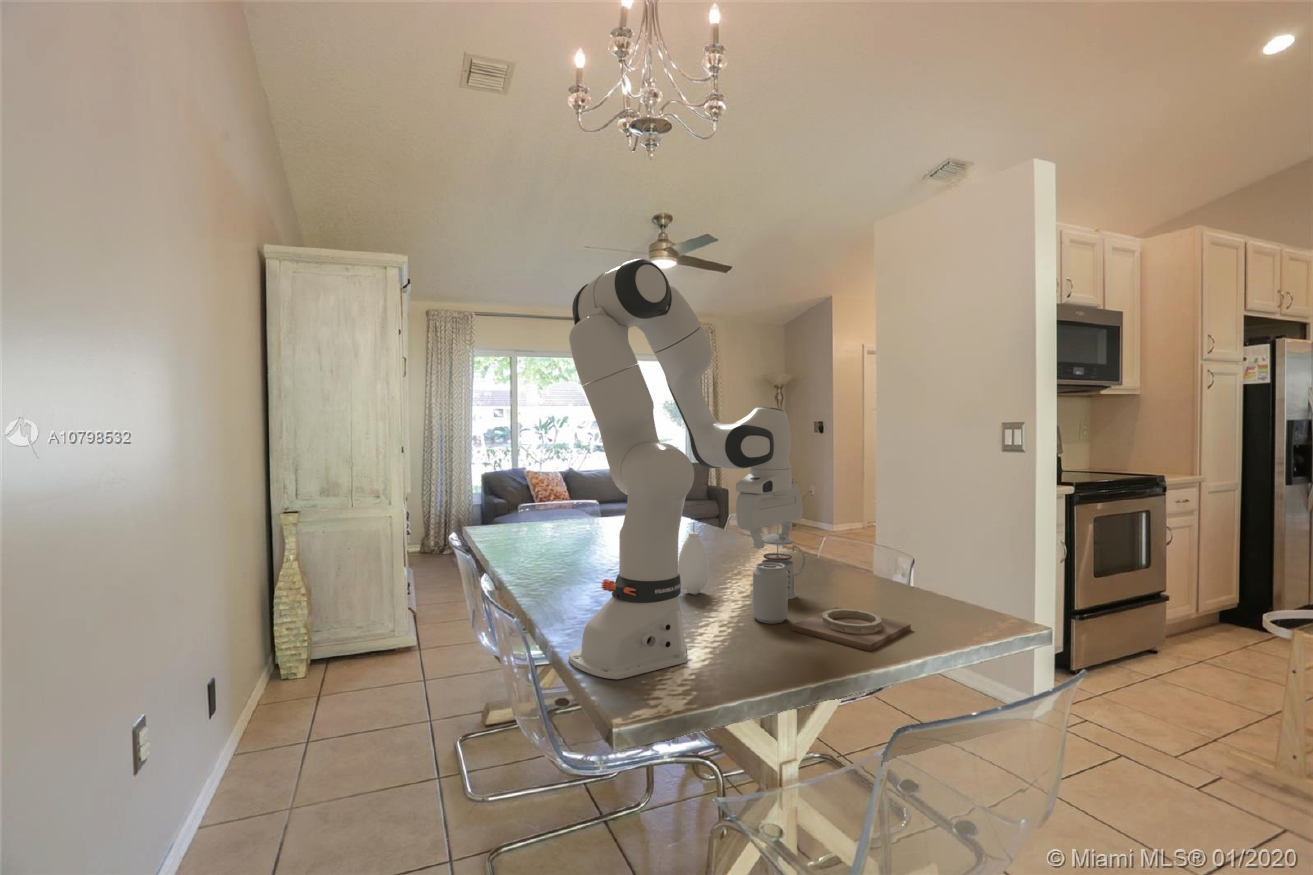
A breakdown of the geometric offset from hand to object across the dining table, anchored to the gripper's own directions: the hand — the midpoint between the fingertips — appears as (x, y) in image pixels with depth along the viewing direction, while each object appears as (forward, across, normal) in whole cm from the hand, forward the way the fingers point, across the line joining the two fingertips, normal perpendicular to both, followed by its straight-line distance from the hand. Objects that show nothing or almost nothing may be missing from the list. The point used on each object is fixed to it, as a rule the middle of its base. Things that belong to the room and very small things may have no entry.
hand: (772, 545), depth 136 cm
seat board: (+16, -5, +16) cm, 23 cm away
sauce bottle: (+16, -3, -26) cm, 31 cm away
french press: (+17, -18, -10) cm, 27 cm away
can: (+16, +1, 0) cm, 16 cm away
